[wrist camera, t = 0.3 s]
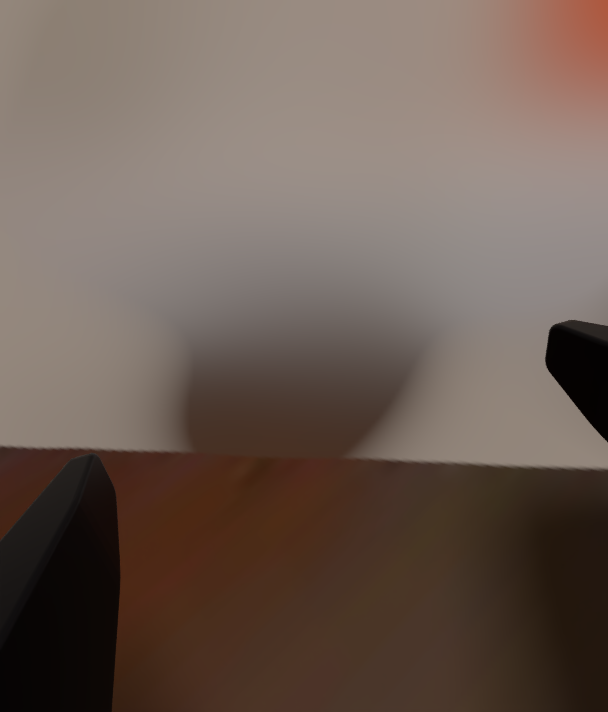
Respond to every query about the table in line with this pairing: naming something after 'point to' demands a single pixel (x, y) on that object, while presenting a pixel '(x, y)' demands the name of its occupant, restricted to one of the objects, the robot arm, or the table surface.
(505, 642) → the table surface
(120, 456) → the table surface
